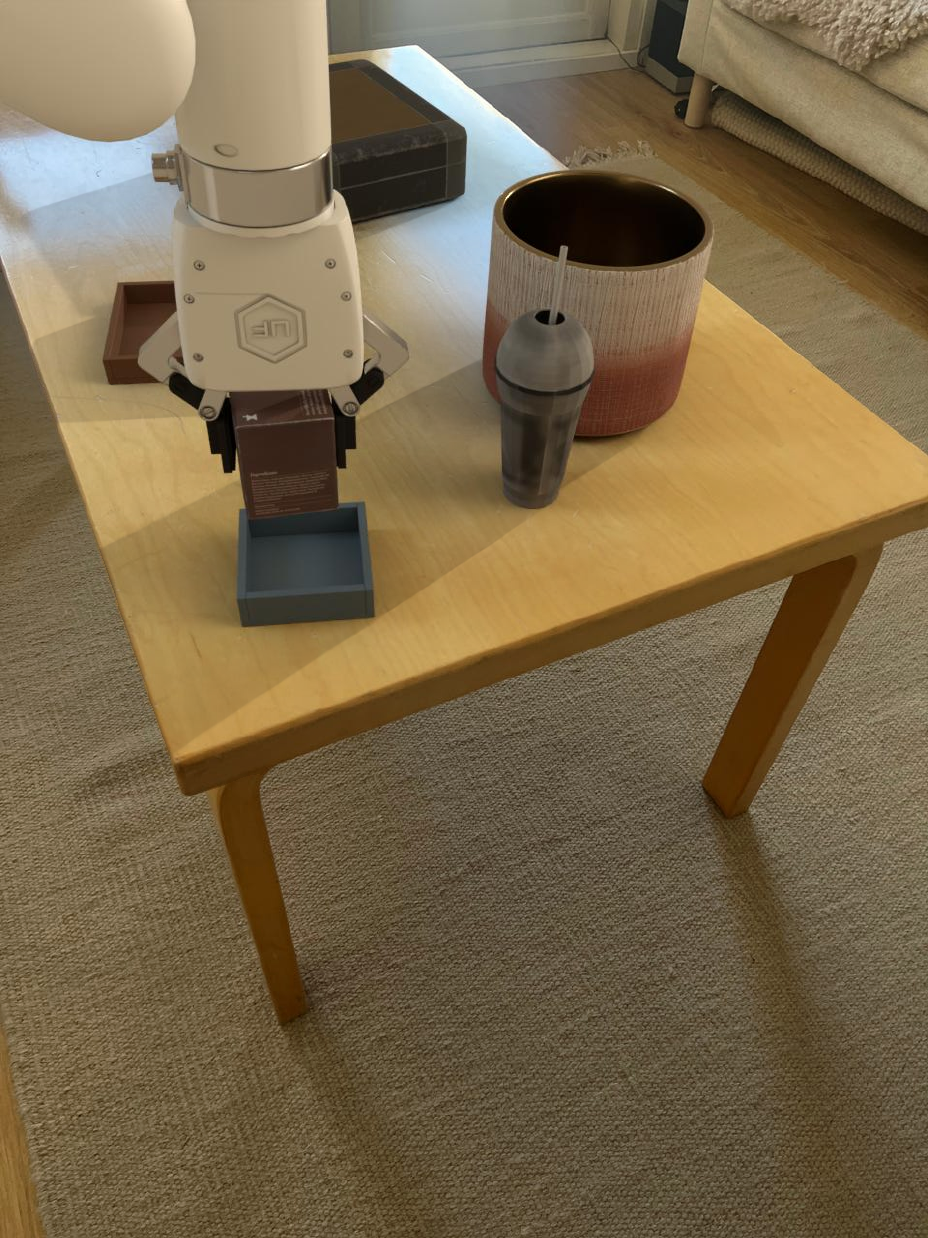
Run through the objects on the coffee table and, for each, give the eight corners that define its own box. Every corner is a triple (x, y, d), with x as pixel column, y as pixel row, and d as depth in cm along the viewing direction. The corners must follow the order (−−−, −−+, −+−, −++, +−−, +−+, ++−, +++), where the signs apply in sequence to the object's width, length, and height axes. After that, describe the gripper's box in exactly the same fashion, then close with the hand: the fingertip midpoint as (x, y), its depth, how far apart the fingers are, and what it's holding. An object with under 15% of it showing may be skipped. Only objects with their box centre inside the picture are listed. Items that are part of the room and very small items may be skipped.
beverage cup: (469, 500, 78) (482, 263, 64) (509, 450, 83) (530, 218, 68) (553, 531, 76) (586, 293, 61) (589, 479, 81) (629, 245, 66)
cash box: (221, 148, 121) (212, 80, 115) (370, 119, 128) (367, 54, 122) (309, 236, 107) (303, 164, 101) (470, 198, 114) (473, 128, 108)
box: (340, 512, 64) (336, 418, 59) (246, 523, 63) (233, 428, 58) (327, 455, 68) (322, 362, 63) (238, 464, 67) (225, 370, 62)
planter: (697, 358, 93) (737, 192, 82) (649, 467, 82) (688, 293, 70) (520, 315, 97) (534, 151, 86) (450, 413, 86) (456, 239, 74)
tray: (108, 384, 87) (102, 359, 85) (123, 305, 96) (117, 281, 94) (283, 376, 89) (280, 352, 87) (282, 300, 98) (279, 276, 96)
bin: (241, 626, 69) (236, 599, 66) (243, 536, 75) (238, 508, 73) (375, 617, 70) (373, 589, 68) (366, 528, 76) (364, 501, 74)
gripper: (73, 211, 47) (142, 501, 60) (435, 209, 49) (425, 489, 62) (92, 146, 52) (151, 427, 65) (419, 147, 54) (413, 418, 68)
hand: (285, 455), depth 64 cm, fingers closed on box, 6 cm apart
